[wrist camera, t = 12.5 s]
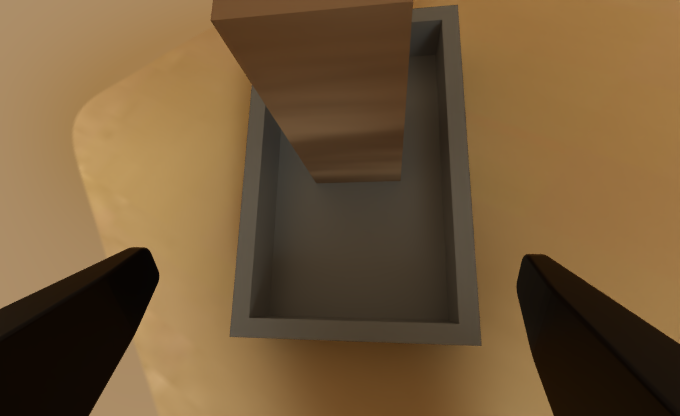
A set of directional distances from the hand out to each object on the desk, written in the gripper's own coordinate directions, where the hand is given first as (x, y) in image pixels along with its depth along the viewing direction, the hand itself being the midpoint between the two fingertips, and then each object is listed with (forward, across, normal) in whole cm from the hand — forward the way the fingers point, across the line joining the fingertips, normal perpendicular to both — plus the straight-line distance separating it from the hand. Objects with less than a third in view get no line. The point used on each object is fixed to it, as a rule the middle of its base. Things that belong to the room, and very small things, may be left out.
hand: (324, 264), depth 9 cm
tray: (+11, 0, +4) cm, 12 cm away
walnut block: (+12, 0, +2) cm, 12 cm away
